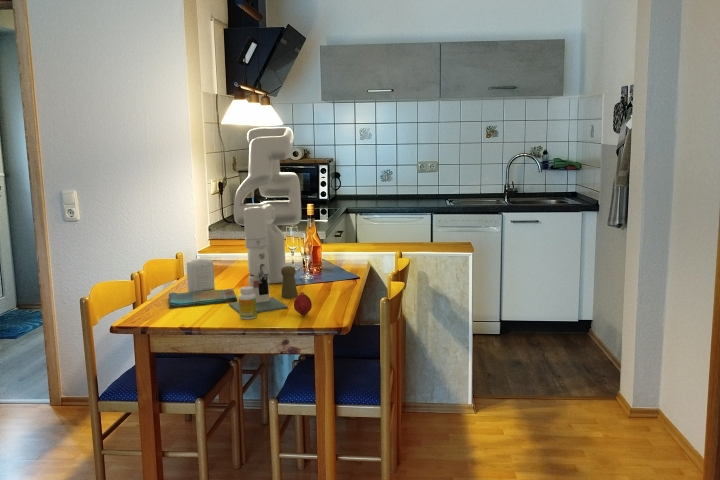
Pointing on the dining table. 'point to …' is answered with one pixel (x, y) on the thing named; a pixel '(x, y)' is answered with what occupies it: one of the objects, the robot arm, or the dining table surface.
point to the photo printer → (200, 274)
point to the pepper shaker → (288, 283)
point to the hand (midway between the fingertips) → (259, 291)
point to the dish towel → (201, 298)
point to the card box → (254, 283)
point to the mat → (263, 305)
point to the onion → (302, 304)
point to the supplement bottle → (247, 303)
